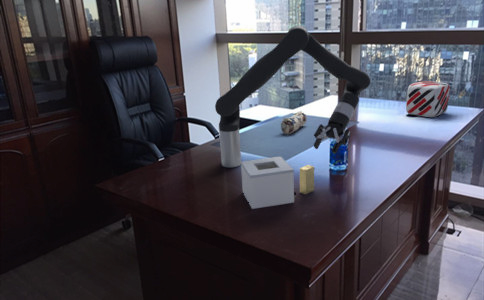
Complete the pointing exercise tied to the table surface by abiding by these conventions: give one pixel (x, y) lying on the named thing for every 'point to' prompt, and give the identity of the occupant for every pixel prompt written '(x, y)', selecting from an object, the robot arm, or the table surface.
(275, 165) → the box
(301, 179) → the tan rectangular block
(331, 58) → the robot arm
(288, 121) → the pencil case
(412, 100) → the decorative cube
